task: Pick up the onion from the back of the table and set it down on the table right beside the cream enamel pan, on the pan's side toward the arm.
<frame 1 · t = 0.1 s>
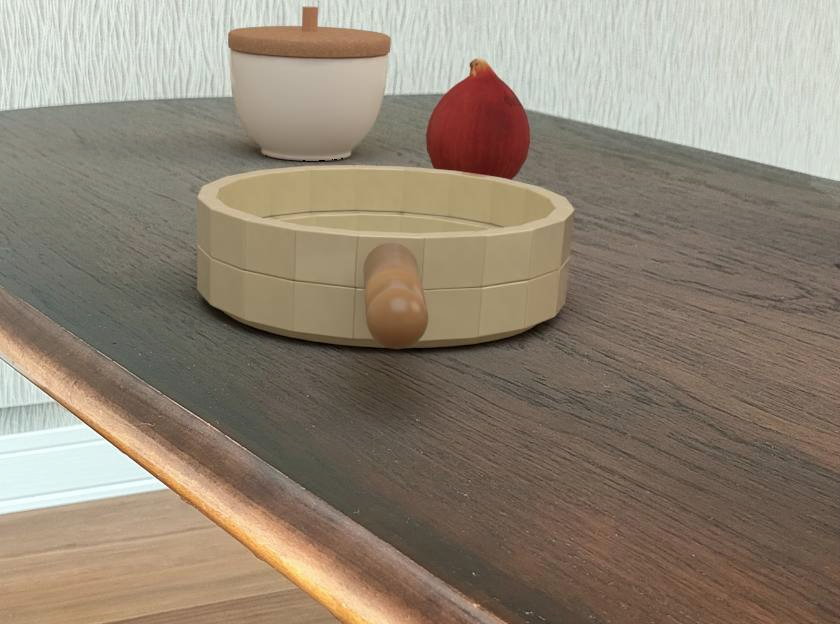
onion: (473, 207, 84), on the table
trinket box: (305, 156, 98), on the table
pan: (379, 301, 63), on the table
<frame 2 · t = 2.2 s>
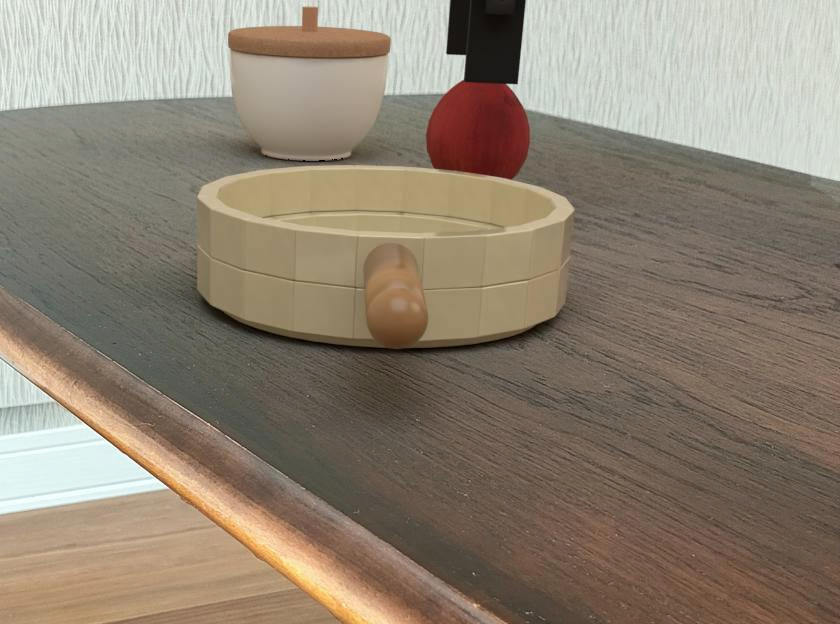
hand: (478, 68, 81), 7 cm above the table, tool pointing down, fingers open, 13 cm apart
nothing on the table moved.
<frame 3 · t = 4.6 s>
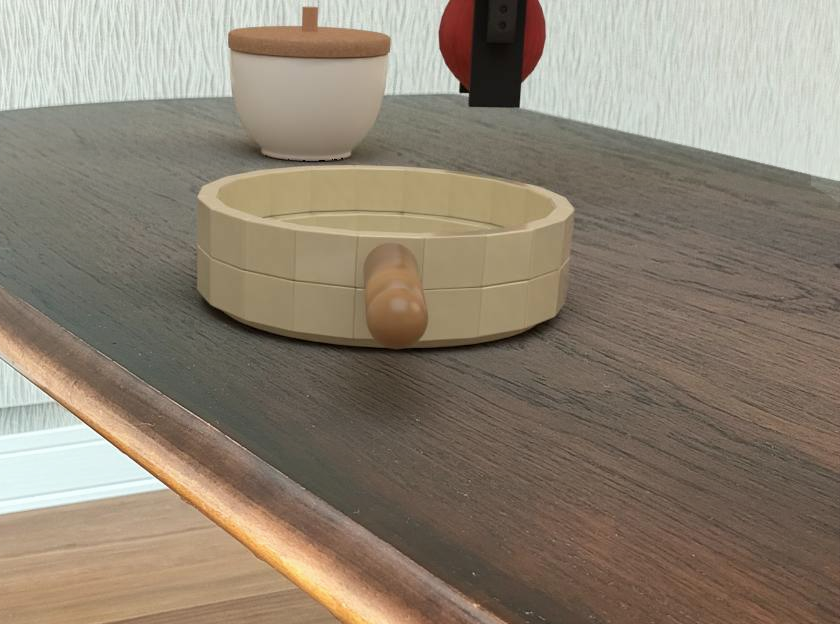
hand: (488, 98, 81), 6 cm above the table, tool pointing down, fingers closed on onion, 6 cm apart
onion: (487, 108, 81), point 5 cm above the table, touching gripper
everything else where it was.
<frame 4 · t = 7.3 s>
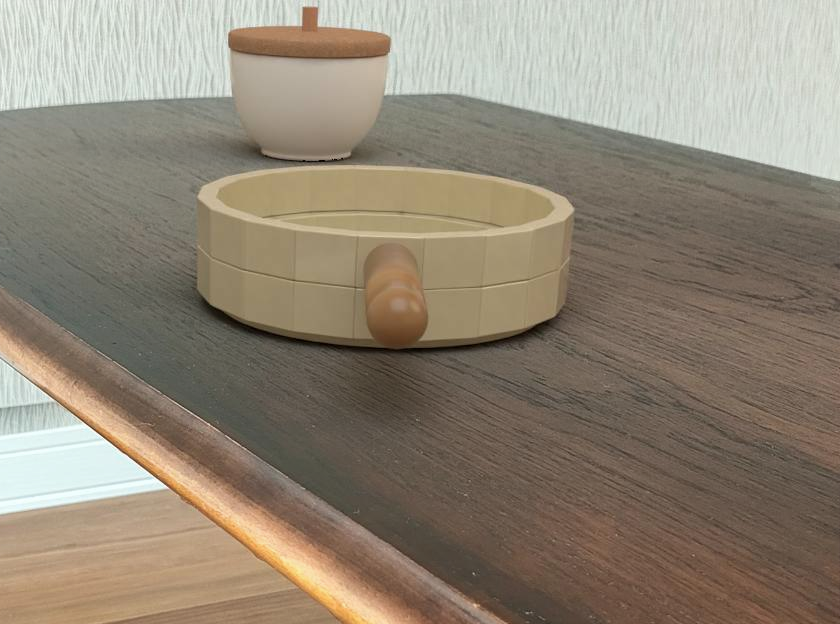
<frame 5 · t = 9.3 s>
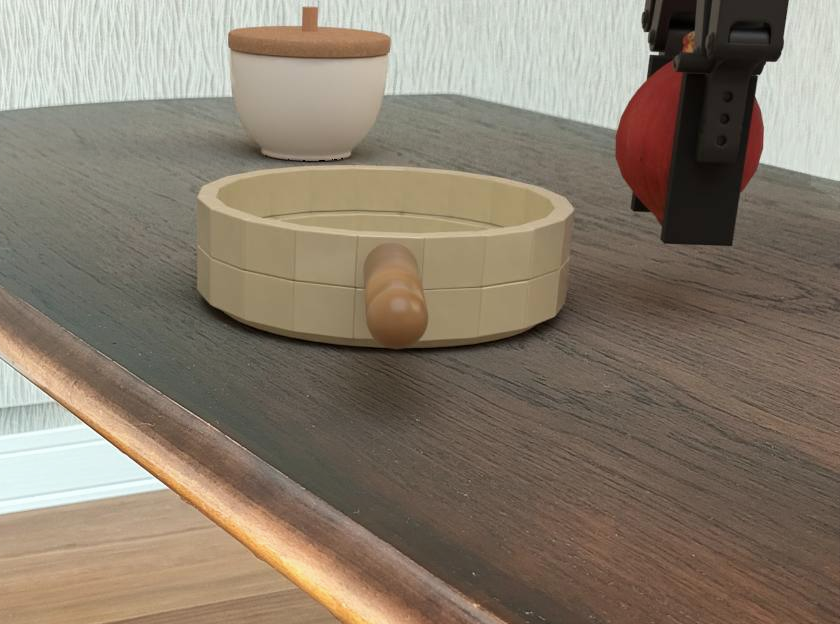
hand: (678, 225, 61), 4 cm above the table, tool pointing down, fingers closed on onion, 6 cm apart
onion: (676, 236, 61), point 3 cm above the table, touching gripper
everything else where it was.
when the fingers open (0 cm above the table, at t = 10.4 s): onion stays where it is, on the table.
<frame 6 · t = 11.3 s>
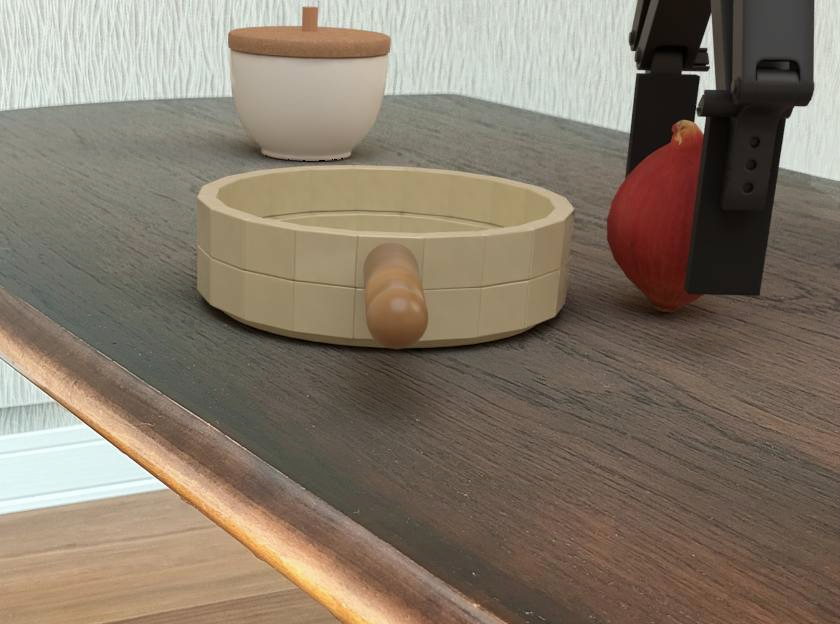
hand: (682, 253, 61), 3 cm above the table, tool pointing down, fingers open, 13 cm apart
onion: (666, 315, 62), on the table
everything else where it was.
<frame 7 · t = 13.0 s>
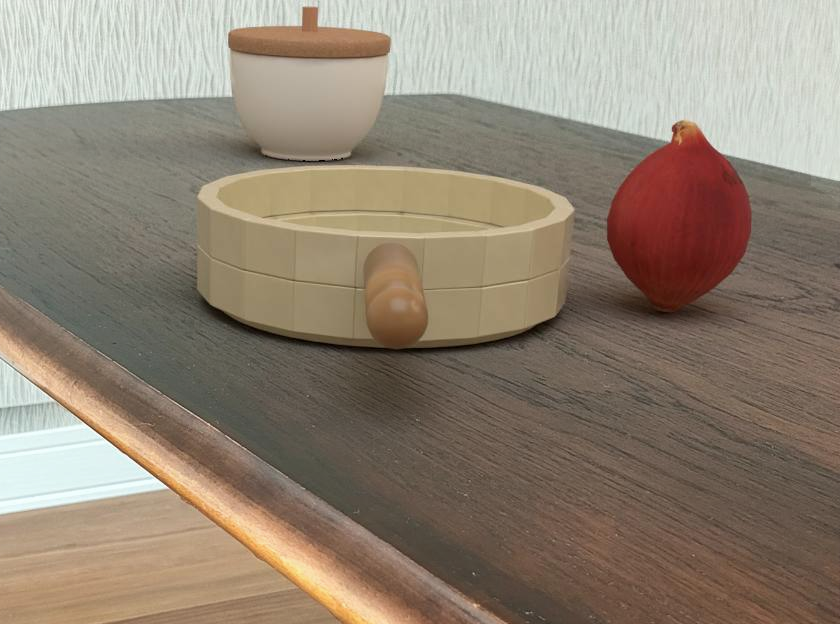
nothing on the table moved.
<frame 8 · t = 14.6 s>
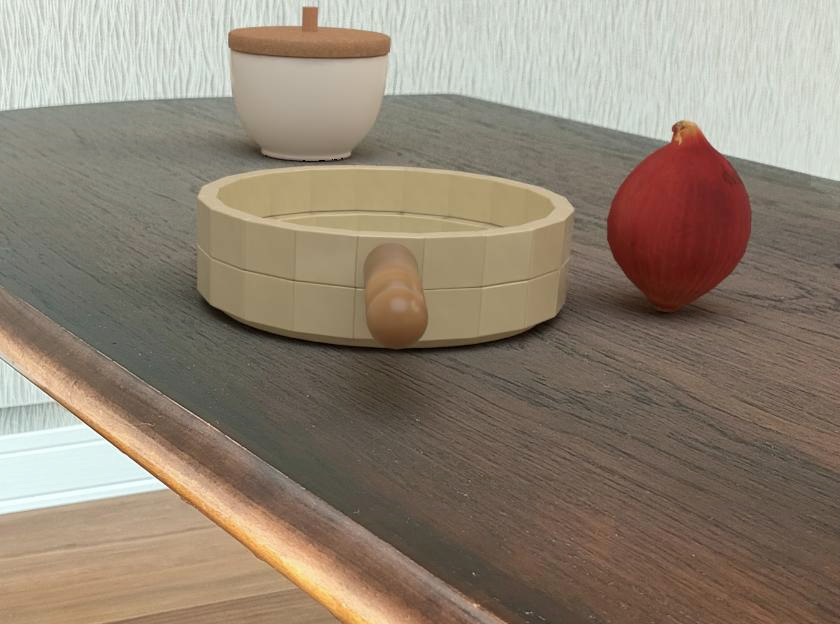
nothing on the table moved.
at the end: onion inside the target area on the table beside the pan (0.2 cm from its centre), on the table; the gripper is holding nothing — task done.
